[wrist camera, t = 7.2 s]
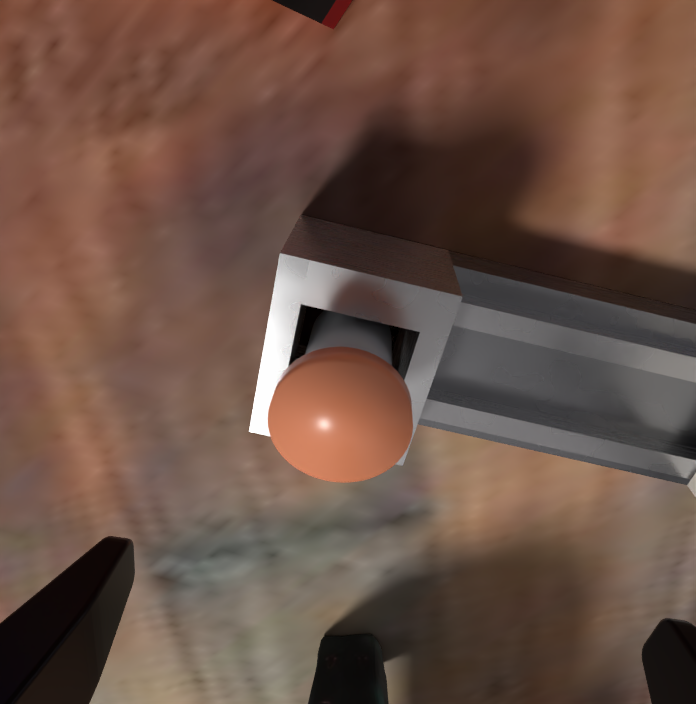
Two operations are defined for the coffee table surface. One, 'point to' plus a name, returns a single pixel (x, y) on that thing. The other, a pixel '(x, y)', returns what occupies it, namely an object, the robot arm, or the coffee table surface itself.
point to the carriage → (693, 485)
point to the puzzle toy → (319, 9)
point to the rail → (500, 348)
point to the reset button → (342, 403)
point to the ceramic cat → (349, 672)
